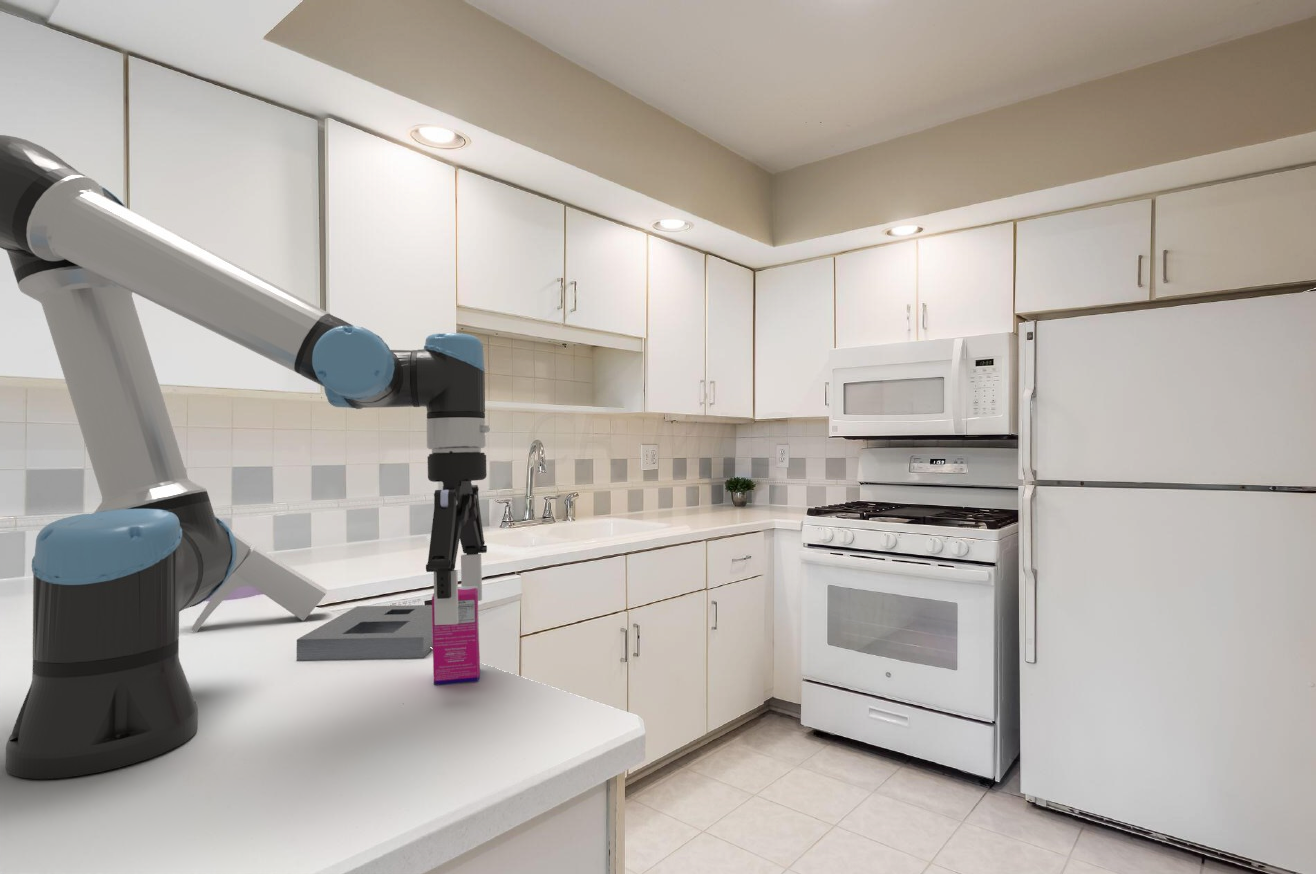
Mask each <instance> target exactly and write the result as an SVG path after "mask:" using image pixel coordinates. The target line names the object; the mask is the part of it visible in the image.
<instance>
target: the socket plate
mask: <svg viewBox="0 0 1316 874" xmlns="http://www.w3.org/2000/svg"><path fill="white" fill-rule="evenodd" d="M430 647H432V648H433V627H432V604H428V605H427V604H426V605H425V604H424V605H422V604H421V605H418V604H416V605H415V604H414V605H411V604H410V605H361V606H360V605H359V606H358V605H357V606H355V607H353V608H352V609H350V610H348V611H346V612H345V613H343V614H341V615H338V616H337V617H335V618H333V619H332V620H330V621H328V622H325V623H324V624H322V625H320V626H318V627H317V628H315V629H314V630H311V631H310V632H308V633H306V634H304V635H302V636H300V637H299V638H297V639H296V661H297V662H298V661H336V660H337V661H338V660H340V661H341V660H386V659H387V660H391V659H392V660H393V659H396V658H401V659H424V658H426V656H427V655H428V654H430V652H432V651H433V649H431V648H430Z"/></svg>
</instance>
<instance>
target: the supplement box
mask: <svg viewBox="0 0 1316 874" xmlns="http://www.w3.org/2000/svg"><path fill="white" fill-rule="evenodd" d="M431 605H432V627H433V649H432V662H433V663H432V664H433V665H432V668H433V669H432V671H433V685H434V686H438V685H439V686H440V685H451V684H454V685H455V684H464V683H465V684H466V683H476V682H479V681H480V676H481V656H480V629H479V627H480V624H479V601H478V586H464V587H461V586H458V621H459V623H458V624H451V625H435V617H434V593H433V594H432V596H431Z"/></svg>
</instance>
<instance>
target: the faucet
mask: <svg viewBox="0 0 1316 874" xmlns="http://www.w3.org/2000/svg"><path fill="white" fill-rule="evenodd" d="M230 530H231V531H232V533H233V535H234V538H235V541H236V545H237V558H236V563H235V566H234V569H233V571H232V574H231V575H230V577H229V578H228V580H227V581H226V582H225V583H224V584H223V586H221V587H220V588H219V590H218V591H217V592H216V593H215V595H214V596H213V597H212V599H211V600H210V601H208V602H207V604H206V606H205V607H204V609H203V610H202V612H201V613H200V614H199V615H198V617H197V619H196V620H195V622H194V624H193V625H192V627H191V628H192V629H191V630H192V632H194V633H197V632H198V631H199V630H200V628H201V627H202V625H203V624H204V623H205V622H206V621H207V619H208V618H209V616H211V614H212V613H213V612H214V611H215V609H217V607H219V606H220V604H222V602H224V601H225V600H224V599H225V598H226V597H227V596H228V595H229V594H230V593H232V592H233V591H234V590H235V589H237V588H239V587H244V586H249V587H253V588H256V589H257V590H259V591H260V592H262V593H263V594H262V595H264V596H266V597H268V598H269V599H270V600H271V601H273V602H274V603H276V604H277V605H278V606H280V607H282V608H283V609H285V610H286V611H287V612H289V613H291V614H292V615H293V616H295V617H297V618H298V619H299V620H301V621H305V620H306V619H307V617H308V616H310V614H311V613H312V612H313V610H314V609H315V608H316V607H317V605H319V603H320V602H321V601H322V600H323V599H324V597H325V596H326V595H327V590H328V589H327V588H325V587H324V586H322V585H320V584H319V583H317V582H315V581H313V580H312V579H310V578H309V577H307V576H306V575H304V574H302V573H301V572H299V571H297V570H295V569H294V568H292V567H291V566H289V565H287V564H286V563H284V562H282V561H280V560H279V559H277V558H276V557H274V556H272V555H271V554H269V553H267V552H266V551H264V550H263V549H261V548H259V547H257V546H254V548H253V549H252V548H251V546H252V545H253V544H252V542H250V541H248V540H247V539H246V538H244V536H241V535H240V534H239V533H238V532H236V531H234V530H233V529H232V528H230ZM223 600H224V601H223Z"/></svg>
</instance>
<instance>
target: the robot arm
mask: <svg viewBox="0 0 1316 874" xmlns="http://www.w3.org/2000/svg"><path fill="white" fill-rule="evenodd" d="M0 249H2V250H5V251H6V253H7V254H8V258H9V261H10V265H11V268H12V270H13V274H14V277H15V281H16V283H17V287H18V289H19V291H20V292H21V293H23V294H24V295H26V296H28V297H29V298H31V299H33V300H36V301H37V302H39V303H40V304H41V306H42V310H43V314H44V316H45V320H46V322H47V326H48V328H49V329H48V330H49V333H50V335H51V339H52V342H53V345H54V348H55V351H56V355H57V358H58V361H59V364H60V366H61V367H60V368H61V370H62V373H63V374H62V375H63V377H64V380H65V383H66V387H67V389H68V394H69V397H70V399H71V402H72V406H73V409H74V412H75V415H76V418H77V421H78V425H79V428H80V431H81V434H82V437H83V439H84V444H85V446H86V450H87V453H88V457H89V459H90V463H91V466H92V470H93V473H94V476H95V479H96V481H97V485H98V489H99V492H100V494H101V503H100V504H99V505H98V507H97V508H96V510H95V511H94V512H93V513H82V514H76V515H72V516H67V517H64V518H60V519H57V520H55V521H53V522H50V523H49V524H46V526H44V527H42V529H40V530H39V532H38V535H36V539H35V548H34V549H35V550H34V556H33V558H32V560H31V571H32V574H33V576H32V577H33V578H32V579H33V581H32V583H33V585H32V590H33V591H32V673H31V674H32V675H31V677H32V678H31V683H30V686H29V688H28V691H27V693H26V696H25V699H24V701H23V703H22V705H21V707H20V710H19V713H18V716H17V718H16V719H15V722H14V726H13V729H12V732H11V734H10V735H9V737H8V739H7V742H6V746H5V770H6V772H7V773H8V774H10V775H12V776H15V777H18V778H22V779H23V778H24V779H32V780H33V779H34V780H37V779H39V780H40V779H41V780H45V779H60V778H61V779H62V778H70V777H77V776H84V775H90V774H96V773H102V772H105V771H109V770H114V769H118V768H123V767H126V766H129V765H133V764H136V763H140V762H143V761H146V760H149V759H151V758H154V757H157V756H159V755H161V754H164V753H166V752H170V751H171V750H173V749H175V748H177V747H179V746H180V745H182V744H184V743H186V742H187V741H188V740H189V739H192V737H193V736H195V734H196V733H197V730H198V725H199V724H198V722H199V718H198V717H199V716H198V714H199V711H198V709H199V708H198V705H197V703H196V700H195V698H194V696H193V693H192V690H191V687H190V685H189V682H188V679H187V677H186V674H185V671H184V668H183V666H182V664H181V662H180V656H179V654H180V653H179V652H180V651H179V649H180V648H179V647H180V645H179V644H180V643H179V642H180V641H179V640H180V639H179V637H180V612H181V611H183V610H185V609H189V608H192V607H196V606H198V605H200V604H202V603H204V602H206V601H205V600H206V599H208V598H209V597H211V596H212V595H213V594H214V593H215V592H216V591H217V590H218V589H219V588H220V587H221V586H223V584H224V583H225V582H226V581H227V580H228V578H229V577H230V575H231V573H232V571H233V569H234V566H235V563H236V558H237V545H236V541H235V538H234V535H233V533H232V531H231V530H230V529H231V528H230V527H229V526H228V525H227V524H226V523H225V522H224V521H223V520H221V518H219V517H217V516H216V515H215V513H214V509H213V507H212V503H211V500H210V496H209V494H208V491H207V489H206V488H205V487H203V486H201V485H198V484H196V483H195V482H193V481H191V479H189V478H188V474H187V471H186V468H185V465H184V462H183V457H182V455H181V451H180V447H179V445H178V442H177V441H178V440H177V439H176V435H175V432H174V428H173V426H172V423H171V418H170V416H169V412H168V408H167V406H166V403H165V399H164V396H163V393H162V389H161V385H160V382H159V379H158V376H157V373H156V369H155V367H154V363H153V360H152V357H151V354H150V351H149V348H148V344H147V341H146V337H145V335H144V331H143V328H142V325H141V322H140V318H139V315H138V311H137V308H136V305H135V301H134V299H133V293H134V294H135V295H137V296H140V297H142V298H143V299H145V300H146V299H147V300H148V301H150V302H152V303H154V304H156V305H159V306H161V307H163V308H164V309H167V310H168V311H170V312H172V313H175V314H177V315H179V316H181V317H183V318H184V319H187V320H189V321H191V322H192V323H195V324H196V325H199V326H201V327H203V328H205V329H207V330H209V331H211V332H214V333H215V334H218V335H219V336H221V337H223V338H225V339H227V340H230V341H232V342H234V343H235V344H238V345H240V346H242V347H244V348H245V349H248V350H250V351H252V352H253V353H256V354H258V355H260V356H262V357H264V358H266V359H268V360H270V361H272V362H274V363H277V364H278V365H280V366H282V367H284V368H286V369H289V370H290V371H293V372H295V373H296V374H298V375H300V376H301V377H304V378H306V379H308V380H310V381H312V382H314V383H316V384H318V385H320V386H322V387H323V389H324V394H325V396H326V398H327V401H328V403H329V405H331V406H332V407H335V408H350V409H356V410H362V409H363V408H369V409H370V408H371V409H372V408H403V407H405V408H406V407H409V408H411V407H412V408H413V407H414V408H421V407H423V408H425V407H426V448H427V449H428V450H431V453H429V454H428V456H427V479H428V480H429V481H430V482H433V483H439V482H442V485H443V486H442V489H435V490H434V493H433V497H434V499H433V501H434V504H433V515H432V516H433V517H432V523H431V525H432V526H431V533H430V542H429V548H428V549H429V550H428V559H427V563H426V564H425V571H426V573H433V594H434V617H435V625H451V624H458V623H459V621H458V587H459V584H458V583H459V581H458V569H456V564H457V563H456V562H457V556H458V550H459V544H461V549H462V553H463V554H461V555H460V571H461V572H460V576H461V577H460V578H461V579H460V581H461V586H460V587H464V586H478V602H479V601H481V602H482V600H483V587H482V586H483V581H482V580H483V577H482V576H483V575H482V573H483V572H482V571H483V570H482V554H486V553H487V552H488V547H487V545H485V539H484V531H483V523H482V516H481V508H480V507H481V506H480V501H479V488H480V487H479V486H478V484H472V481H484V480H485V479H486V478H487V454H485V452H482V449H483V448H486V445H487V444H486V434H485V433H489V432H490V430H491V429H490V426H489V425H487V424H486V419H485V418H486V398H485V397H486V392H485V391H486V390H485V389H486V384H485V383H486V382H485V381H486V379H485V378H486V376H485V375H486V372H485V370H486V369H485V358H484V346H483V342H481V340H480V338H478V337H477V336H474V335H472V334H467V333H461V332H460V333H458V332H457V333H456V332H445V333H433V334H430V335H428V336H427V337H426V338H425V343H424V344H425V345H424V346H423V349H417V350H415V349H411V350H410V349H409V350H408V349H407V350H405V349H403V350H402V349H390V347H389V344H387V343H386V342H385V341H384V339H383V338H382V337H381V336H379V335H378V334H376V333H374V331H371V330H368V329H367V328H365V327H360V326H358V325H353V324H351V323H350V322H347V321H345V320H343V319H341V318H339V317H337V316H334V315H332V314H331V313H330V312H328V311H326V310H324V309H322V308H320V307H318V306H317V305H315V304H313V303H311V302H308V301H307V300H305V299H303V298H301V297H299V296H298V295H295V294H293V293H291V292H289V291H288V290H285V289H284V288H282V287H280V286H278V285H276V284H274V283H272V282H270V281H269V280H266V279H264V278H263V277H261V276H258V275H257V274H255V273H253V272H251V271H250V270H247V269H245V268H243V267H241V266H240V265H237V264H235V263H233V262H231V261H230V260H228V259H226V258H224V257H222V256H220V255H218V254H217V253H215V252H213V251H211V250H208V249H206V248H205V247H202V246H201V245H199V244H197V243H195V242H193V241H191V240H190V239H188V238H186V237H183V236H182V235H180V234H178V233H176V232H173V231H172V230H170V229H168V228H166V227H164V226H162V225H160V224H159V223H156V222H154V221H153V220H151V219H149V218H147V217H145V216H142V215H141V214H139V213H137V212H135V211H133V210H131V209H129V208H127V206H126V204H124V203H123V202H122V201H121V200H120V199H119V198H118V197H117V196H116V195H115V194H114V193H112V192H110V190H108V189H106V188H105V187H103V186H102V185H100V184H99V183H98V182H97V181H96V180H94V178H93V179H92V178H91V177H89V176H87V175H85V174H83V173H82V172H80V171H78V170H77V169H76V168H74V167H73V166H71V165H70V164H68V163H67V162H65V160H63V159H62V158H61V157H59V156H58V155H57V154H55V153H54V152H52V151H50V150H48V149H47V148H45V147H43V146H41V145H39V144H37V143H34V142H33V141H30V140H27V139H24V138H20V137H16V136H10V135H6V134H0Z"/></svg>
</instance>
